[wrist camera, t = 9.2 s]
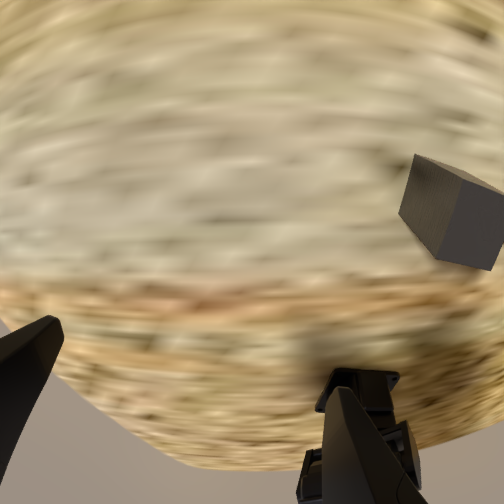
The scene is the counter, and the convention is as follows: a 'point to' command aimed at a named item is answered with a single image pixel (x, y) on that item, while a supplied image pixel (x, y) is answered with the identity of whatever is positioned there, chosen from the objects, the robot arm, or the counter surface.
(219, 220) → the counter surface
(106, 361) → the counter surface
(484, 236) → the grey hammer
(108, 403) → the counter surface
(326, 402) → the robot arm
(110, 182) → the counter surface
